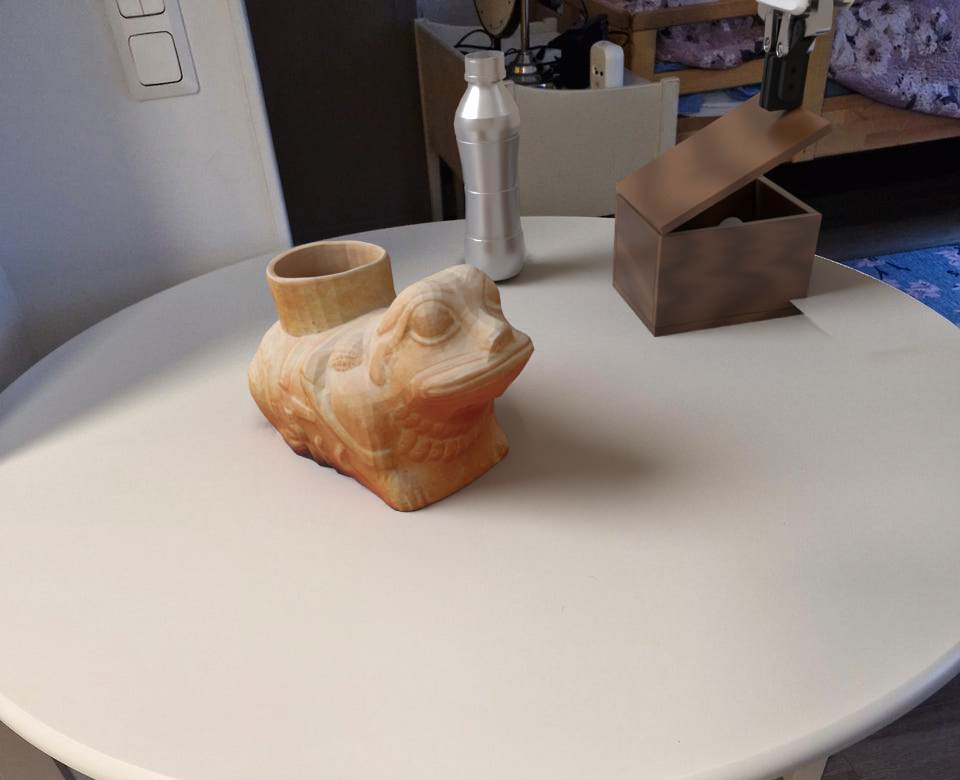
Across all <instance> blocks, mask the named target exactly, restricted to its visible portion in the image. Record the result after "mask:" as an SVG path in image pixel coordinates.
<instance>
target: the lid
mask: <svg viewBox="0 0 960 780" xmlns="http://www.w3.org/2000/svg"><path fill="white" fill-rule="evenodd" d="M759 99H760V91H759V92H758V93H756V94H755V95H753V96H751V97H750V98H748V99H746V100H745V101H743V102H741V104H739V105H738V106H736V107H734V108H732V109H731V110H730V111H728V112H727V113H724V114H723V115H721V116H720V117H719V118H717V119H715V120H714V121H712V122H711V123H709V124H708V125H705V127H702V128H701V129H700V130H698V131H696V132H695V133H693V134H691V135H690V136H689V137H687V138H685V139H684V140H682V141H681V142H679V143H678V144H676V145H674V146H673V147H672V148H670V149H668V150H666V151H665V152H663V153H662V154H660V155H659V156H657V157H656V158H654V159H653V160H651V161H649V162H647V163H646V164H644V165H643V166H642V167H640V168H638V169H637V170H635V171H633V172H632V173H631V174H628V175H627V176H626V177H624V178H623V179H621V180H620V181H618V182H616V183H615V184H614V187H615V190H616V192H617V193H619V194H620V195H621V196H622V197H623V198H624V199H625V200H626V201H628V202H629V203H630V204H631V205H632V206H633V207H634V208H635V209H636V210H637V211H638V212H639V213H640V214H641V215H642V216H643V217H644V218H645V219H646V220H647V221H648V222H650V223H651V224H652V225H653V226H654V227H655V228H656V229H657V230H658V231H659V232H660V233H661V234H662V235H663V236H664V235H665V234H667V233H669V232H670V231H672V230H674V229H675V228H677V227H678V226H680V225H682V224H683V223H685V222H687V221H688V220H690V219H691V218H693V217H695V216H696V215H698V214H700V213H701V212H703V211H704V210H706V209H708V208H709V207H711V206H713V205H714V204H716V203H717V202H719V201H721V200H722V199H724V198H726V197H727V196H729V195H730V194H732V193H734V192H735V191H737V190H738V189H740V188H742V187H743V186H745V185H747V184H748V183H750V182H751V181H753V180H755V179H756V178H758V177H760V176H761V175H763V176H764V175H765V174H766V173H768V172H769V171H771V170H773V169H774V168H776V167H778V166H779V165H780V164H782V163H784V162H785V161H787V160H789V159H791V158H792V157H794V156H796V155H797V154H799V153H800V152H802V151H803V150H805V149H807V148H808V147H810V146H812V145H813V144H815V143H816V142H818V141H820V140H821V139H823V138H825V137H826V136H828V135H830V134H831V133H833V132H834V130H833V125H832V122H831V121H830V120H828V119H826V118H824V117H822V116H820V115H817V114H815V113H814V112H812V111H810V110H807V109H805V108H803V107H801V106H800V107H799V108H794V109H787V110H779V111H772V112H769V111H767V110H765V109H763V108H761V107H760V106H759Z"/></svg>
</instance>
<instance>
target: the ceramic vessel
mask: <svg viewBox="0 0 960 780" xmlns="http://www.w3.org/2000/svg"><path fill="white" fill-rule="evenodd" d="M265 272H266V273H265V274H266V275H265V276H266V280H267V283H268V287H269V289H270V293H271V296H272V299H273V302H274V305H275V307H276V310H277V315H278V320H277V321H276V322H274V323H273V325H271V327H270V328H269V329H268V330H267V331H266V332H265V334H264V335H263V337H262V339H261V340H260V342H259V345H258V347H257V350H256V352H255V355H254V356H253V358H252V360H251V362H250V364H249V366H248V369H247V381H248V388H249V392H250V395H251V398H252V399H253V402H254V403H255V404H256V406H257V407H258V408H259V410H260V412H261V413H262V415H263V416H264V417H265V419H266V420H267V421H268V422H269V423H270V424H271V425H272V426H273V427H274V429H275V430H276V431H277V432H278V433H279V434H280V436H281V437H282V439H283V440H284V442H285V444H286V445H287V446H288V447H289V448H290V449H291V450H292V452H293V453H294V454H295V455H297V456H299V457H303V458H305V459H309V460H311V461H312V462H315V463H316V464H317V465H318V466H320V467H325V468H330V469H334V470H335V472H336V473H337V474H338V475H341V476H344V477H345V476H346V477H349V478H353V479H354V481H356V482H357V483H358V484H359V485H361V486H363V487H364V488H366V489H367V490H369V491H370V492H371V493H373V494H374V495H375V496H376V497H378V498H379V499H380V500H381V501H382V502H384V504H385V505H387V506H388V507H389V508H390V509H393V510H394V511H398V512H413V511H416V510H420V509H422V508H424V507H426V506H429V505H431V504H434V503H436V502H438V501H441V500H443V499H444V498H447V497H448V496H451V495H453V494H455V493H457V492H458V491H460V490H462V489H464V488H465V487H467V486H468V485H470V484H472V483H473V482H474V481H475V480H477V479H479V478H480V477H481V476H482V475H484V474H485V473H486V472H487V471H489V470H490V469H491V468H492V467H494V466H495V465H496V464H498V463H499V462H501V461H502V459H504V458H505V457H506V455H507V454H508V452H509V450H510V445H509V444H510V441H509V439H508V438H507V436H506V435H505V433H504V432H503V431H502V430H501V427H500V425H499V422H498V420H497V418H496V412H495V399H497V398H499V397H501V396H503V394H504V393H505V392H506V390H508V388H509V387H510V386H511V384H512V383H514V381H515V380H516V379H517V378H518V377H519V376H520V375H521V373H522V372H523V370H524V369H525V368H526V365H527V364H528V362H529V361H530V359H531V357H532V355H533V353H535V352H534V351H535V346H534V343H533V341H532V339H531V337H530V336H529V335H528V334H527V333H526V332H523V331H521V330H519V329H517V328H515V327H514V326H513V325H512V324H511V323H510V322H509V320H508V319H507V318H506V317H505V314H504V312H503V309H502V301H501V300H502V299H501V294H500V293H501V292H500V290H499V288H498V286H497V284H496V283H495V281H493V280H492V279H491V278H490V277H489V276H488V275H487V274H486V273H485V272H483V271H481V270H479V269H477V268H476V267H474V266H472V265H467V264H466V263H462V264H459V265H452V266H450V267H447V268H445V269H443V270H441V271H439V272H436V273H433V274H431V275H429V276H426V277H424V278H422V279H419V280H418V281H416V282H414V283H412V284H411V285H409V286H406V287H405V288H404V289H403V290H402V291H400V293H398V294H397V293H396V289H395V284H394V275H393V269H392V261H391V257H390V255H389V253H388V251H387V249H385V248H384V247H381V246H380V245H377V244H373V243H371V242H366V241H361V240H348V239H347V240H321V241H315V242H309V243H305V244H301V245H299V246H295V247H293V248H290V249H287V250H285V251H283V252H281V253H279V254H278V255H276V256H275V257H274V258H272V259H271V260H270V262H269V263H268V265H267V266H266V271H265Z"/></svg>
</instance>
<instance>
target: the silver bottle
mask: <svg viewBox="0 0 960 780" xmlns="http://www.w3.org/2000/svg"><path fill="white" fill-rule="evenodd" d="M505 65H506V63H505V53H504V52H503V51H500V50H480V51H479V50H478V51H474V52H470V53H467V54H465V55H464V71H465V72H464V81H466V82H467V88H466V90H465V92H464V94H463V96H462V97H461V99H460V101H459V104H458V106H457V108H456V111H455V114H454V121H453V128H454V134H455V136H456V137H455V139H456V140H455V141H456V144H457V149H458V153H459V158H460V159H459V160H460V163H461V172H462V179H463V180H462V181H463V184H464V189H463V190H464V195H465V232H464V238H463V253H462V254H463V259H464V263H465V264H467V265H472V266H474V267H476V268H477V269H479V270H481V271H483V272H485V273H486V274H487V275H488V276H489V277H490V278H491V279H492V280H493V281H494V282H495V281H502V280H507V279H511V278H513V277H515V276H516V275H518V274H519V273H520V272H521V270H522V268H523V267H524V265H525V261H526V260H525V259H526V252H527V247H526V240H525V233H524V230H523V227H522V221H521V212H520V211H521V210H520V203H519V193H518V191H519V189H518V184H519V183H518V178H519V177H518V175H519V151H520V140H521V128H522V117H521V112H520V109H519V107H518V104H517V102H516V101H515V99H514V97H513V95H512V94H511V93H510V92H509V89H508V88H507V87H506V85H505V84H504V79H505V78H506V77H507V70H506V69H505V68H506V66H505Z"/></svg>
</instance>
